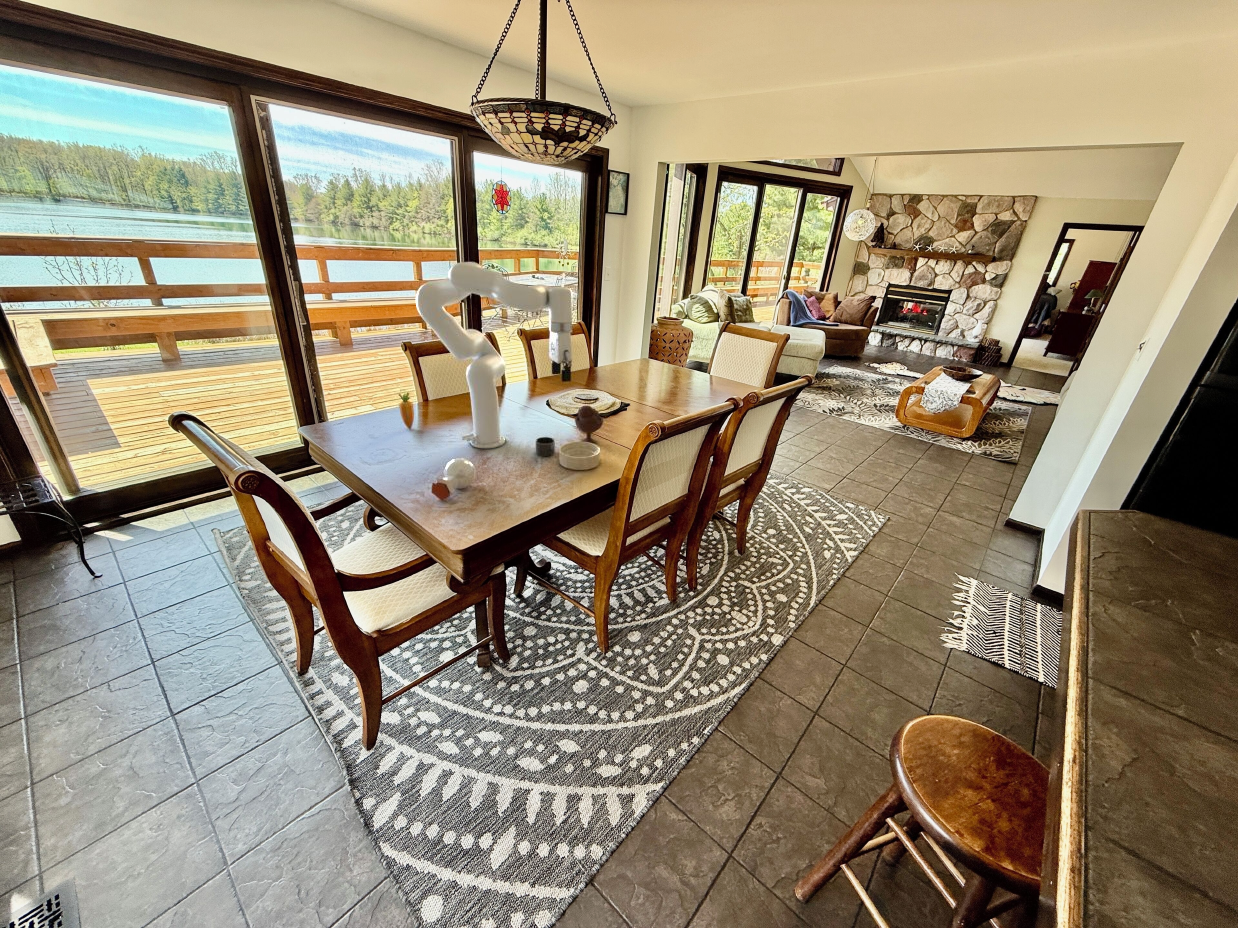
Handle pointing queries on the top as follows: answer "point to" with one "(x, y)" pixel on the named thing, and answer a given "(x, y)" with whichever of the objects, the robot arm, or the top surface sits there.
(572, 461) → the cream bowl
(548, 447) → the black bowl
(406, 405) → the carrot
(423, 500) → the top surface
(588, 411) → the ice cream bowl
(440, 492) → the potion bottle
